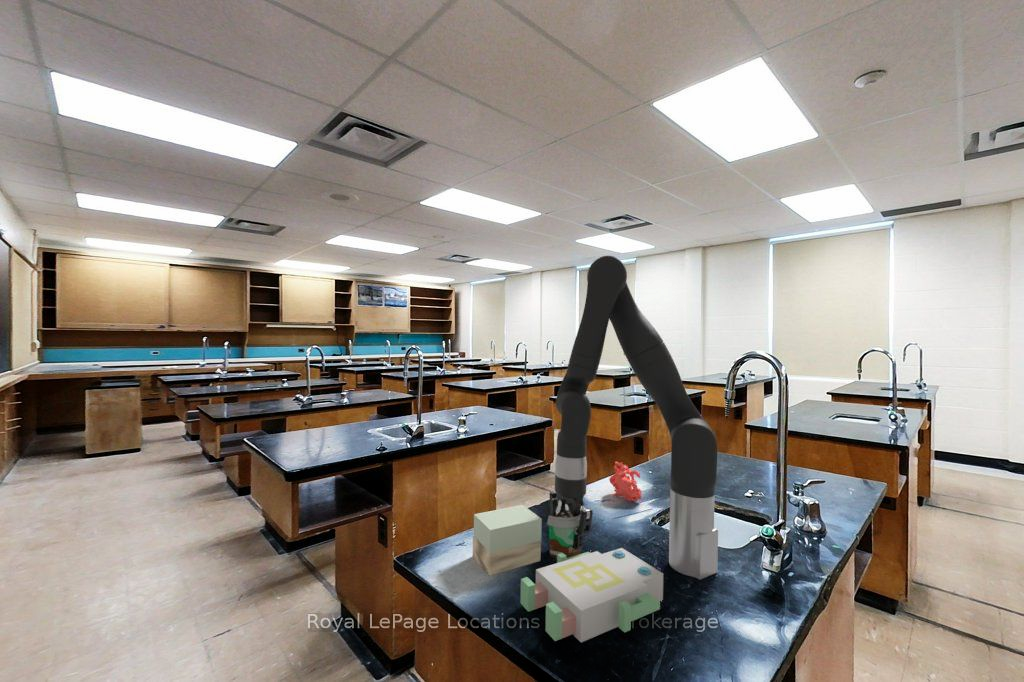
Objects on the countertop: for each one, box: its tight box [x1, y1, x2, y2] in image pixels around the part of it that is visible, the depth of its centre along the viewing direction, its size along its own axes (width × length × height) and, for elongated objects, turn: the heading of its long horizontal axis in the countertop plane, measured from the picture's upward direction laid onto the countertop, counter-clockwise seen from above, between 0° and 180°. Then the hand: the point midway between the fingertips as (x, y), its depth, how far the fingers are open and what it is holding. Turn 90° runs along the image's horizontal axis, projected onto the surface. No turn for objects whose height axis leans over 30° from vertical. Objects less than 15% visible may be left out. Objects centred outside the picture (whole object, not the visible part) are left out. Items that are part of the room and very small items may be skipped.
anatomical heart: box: [608, 461, 643, 503], centre depth 136 cm, size 9×12×12 cm
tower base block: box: [472, 535, 542, 576], centre depth 98 cm, size 9×13×5 cm
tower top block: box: [473, 504, 543, 553], centre depth 98 cm, size 9×13×5 cm
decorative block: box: [520, 547, 664, 643], centre depth 82 cm, size 26×6×20 cm
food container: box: [546, 511, 582, 559], centre depth 101 cm, size 12×6×10 cm, turn 142°
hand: (568, 542), depth 101 cm, fingers closed on food container, 5 cm apart
